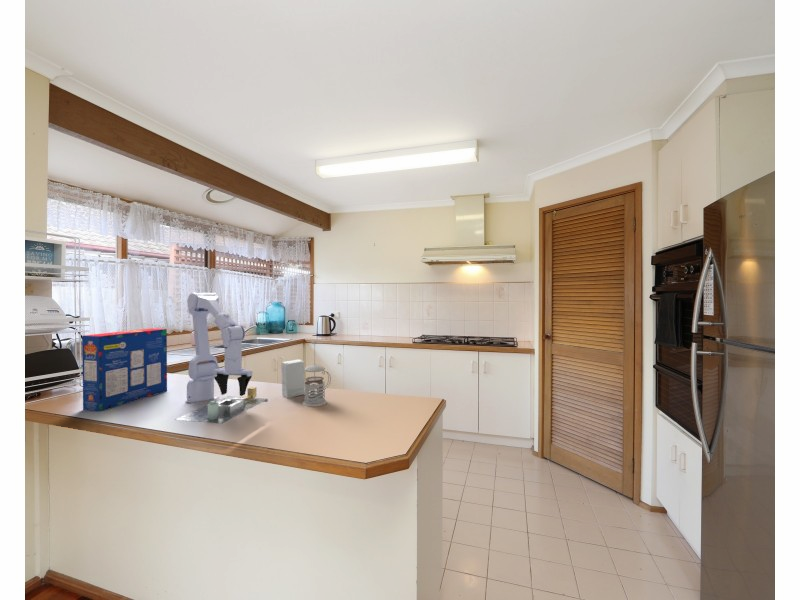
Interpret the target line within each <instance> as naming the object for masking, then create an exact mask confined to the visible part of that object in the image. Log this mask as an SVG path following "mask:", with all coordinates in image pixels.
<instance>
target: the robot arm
mask: <svg viewBox="0 0 800 600" xmlns="http://www.w3.org/2000/svg"><path fill="white" fill-rule="evenodd" d="M187 311H188V314H189V315H191V316H192V317H191V318H192V327H193V337H194V346H195V347H194V348H195V356H194V357H192V358H191V359H190V360H189V361H188V376H189V378H190V379H189V380H188V382H187V385H186V400H184V402H185V403H195V402H200V401H201V402H202V401H203V402H204V401H209V400H212V399H217V400H218V399H219V398H220V397H219V396H215V382H216V383H217V385H218V387H219V389H220V391H219V392H220V395H221V396H223V395H226V394H228V393H227V392H228V381H229V376H238V377H237V382H238V385H239V386H238V387H239V397H244V396H245V395H246V392H247V389H248V385H249V383H250V380H251V379H252V376H253V369H246V368H243V367H242V361H243V360H242V353H243V351H242V349H243V348H242V347H243V346H242V343H243V342H242V341H243V340H244V339H245V336H246V331H245V328H244V325H241V324H238V323H236V322H235V321H234V319H233V318H232V316H230V314H229V313H227V312H224V311H223V309H222V307H221V306H220V298H219V295H218V294H217V292H198V293H197V292H190V293H189V295H188V296H187ZM208 315H212V316H213V317H214V321H213V322H214V324H215V325H216V327H217V328H218V330H219V331H220V332H221V334H220V337H221V340H222V345H223V347H224V368H220V365H219V363H218V359H217V357H216V356H215V355H213V354H211V350H210V349H211V348H210V337H209V330H208V321H207V320H208V319H207V318H208V317H207V316H208Z"/></svg>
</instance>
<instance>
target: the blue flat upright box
mask: <svg viewBox="0 0 800 600" xmlns="http://www.w3.org/2000/svg"><path fill="white" fill-rule="evenodd" d="M167 333H168V330H167V328H152V327H151V328H143V329H134V330H123V331H115V332H113V331H112V332H105V333H104V332H103V333H95V334H94V333H93V334H85V335H81V336H82V338H81V340H82V343H81V345H82V347H81V348H82V352H81V353H82V355H81V356H82V410H83V411H89V412H91V411H92V412H98V413H99V412H103V411H106V410H110V409H113V408H116V407H119V406H122V405H125V404H126V405H127V404H129V403H133V402H135V401H140V400H142V399H145V398H149V397H152V396H155V395H159V394H162V393H165V392H168V348H167V347H168V345H167V344H168V337H167V335H168V334H167Z"/></svg>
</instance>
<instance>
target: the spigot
mask: <svg viewBox="0 0 800 600" xmlns="http://www.w3.org/2000/svg"><path fill="white" fill-rule="evenodd" d="M216 401H217V400H210V401H209V403H207V405H208V420H215V419H218V403H217V402H216Z"/></svg>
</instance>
